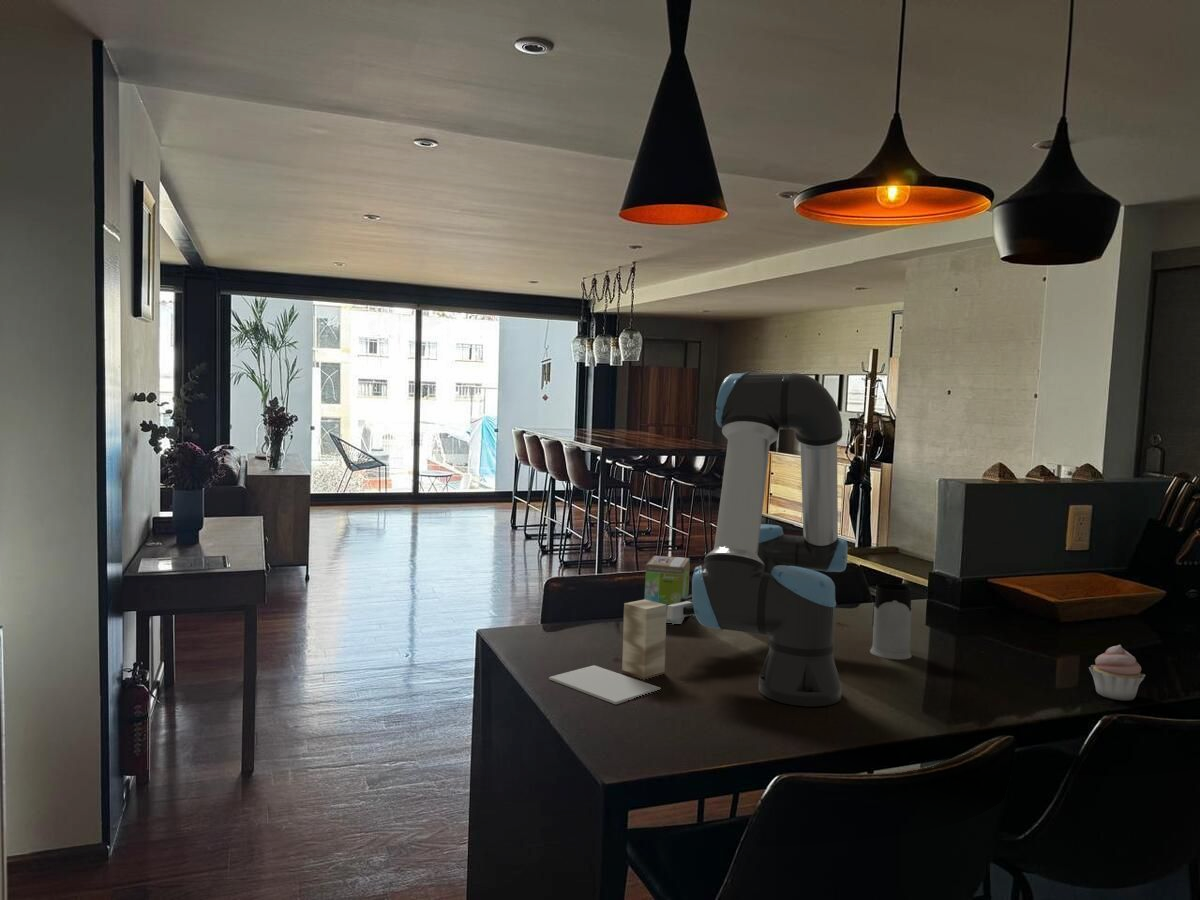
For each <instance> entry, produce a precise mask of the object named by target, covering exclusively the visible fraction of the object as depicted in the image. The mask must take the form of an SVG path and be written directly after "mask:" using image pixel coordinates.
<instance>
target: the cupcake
mask: <svg viewBox="0 0 1200 900" xmlns="http://www.w3.org/2000/svg"><path fill="white" fill-rule="evenodd" d="M1094 662H1095V664H1091V665H1090V666H1089V667H1088V669H1089V672H1090V673H1091V675H1092V678H1093V682H1094V686H1095V691H1096V694H1098V695H1100V696H1102V697H1104V698H1108V699H1110V700H1117V701H1133V700H1135V698H1136V696H1137V693H1138V691H1139V690H1138V689H1139V686H1140V684H1141V683H1142V681H1144V679H1145V677H1146V674H1145V673H1141V671H1142V667H1141V664H1139V662H1137V659H1136V657H1135V656H1133V655H1132V654H1131V653H1129V651H1127V650H1125V648H1123V647H1122V645H1121V644H1118V645H1114V646H1111V647H1108V648H1107V649H1106V650H1105V652H1104V653H1101V654H1099V655H1097V657H1096V658H1095V659H1094Z"/></svg>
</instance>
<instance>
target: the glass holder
mask: <svg viewBox="0 0 1200 900" xmlns="http://www.w3.org/2000/svg"><path fill="white" fill-rule="evenodd" d="M874 601H875V602H874V607H873V626H872V627H873V630H872V645H871V648H870V650H869V652H870V653H871V654H872V655H874V656H876V657H879V658H883V659H889V660H908V659H911V658H912V653H911V632H912V631H911V627H912V611H913V610H912V587H911V586H908V585H904V584H899V583H878V584H876V585H875V599H874Z"/></svg>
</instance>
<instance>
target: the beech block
mask: <svg viewBox="0 0 1200 900" xmlns="http://www.w3.org/2000/svg"><path fill="white" fill-rule="evenodd" d="M623 605H624V606H623V631H622V663H621V664H622V665H621V666H622V667H621V674H623V675H626V676H629V677H632V678H635V677H637V678H636V679H638V678H640V680H641V679H643V680H642V681H646V680H645V679H647V680H649V679H648V678H651V679H653V678H652V677H654V678H656V677H655V676H657V677H659V676H658V675H661V676H663V675H662V674H664V675H665V674H666V671H665V669H666V668H665V667H666V640H667V636H666V634H667V624H666V614H667V605H666V604H661V603H657V602H653V601H649V600H645V599H644V598H643V599H639V600H635V601H629V602H624V603H623Z"/></svg>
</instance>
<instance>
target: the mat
mask: <svg viewBox="0 0 1200 900" xmlns="http://www.w3.org/2000/svg"><path fill="white" fill-rule="evenodd" d="M548 679H549V681H553V682H554V683H558V684H560V685H563V686H565V687H568V688H571V689H573V690H576V691H579V692H581V693H584V694H587V695H590V696H591V697H594V698H596V699H600V700H602V701H605V702H609V703H611V704H613V705H619V704H622V703H624V702H625V703H626V702H629V701H631V700H634V698H635V699H637V698H636V697H638V698H640V697H639V696H641V697H643V696H642V695H644V696H646V695H645V694H647V695H649V694H648V693H650V694H652V693H651V692H654V691H657V690H660V689H661V687H660V686H656V685H653V684H650V683H649V682H648V683H647V682H645V681H643V680H639V679H637V678H634V677H632V676H629V675H626V674H623V673H618V672H615V671H613V670H610V669H606V668H603V667H601V666H598V665H590V666H586V667H582V668H578V669H574V670H570V671H567V672H563V673H560V674H559V673H558V674H555V675H552V676H549V678H548ZM660 691H661V690H660ZM657 692H658V691H657ZM654 693H655V692H654ZM628 700H629V701H628Z"/></svg>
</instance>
